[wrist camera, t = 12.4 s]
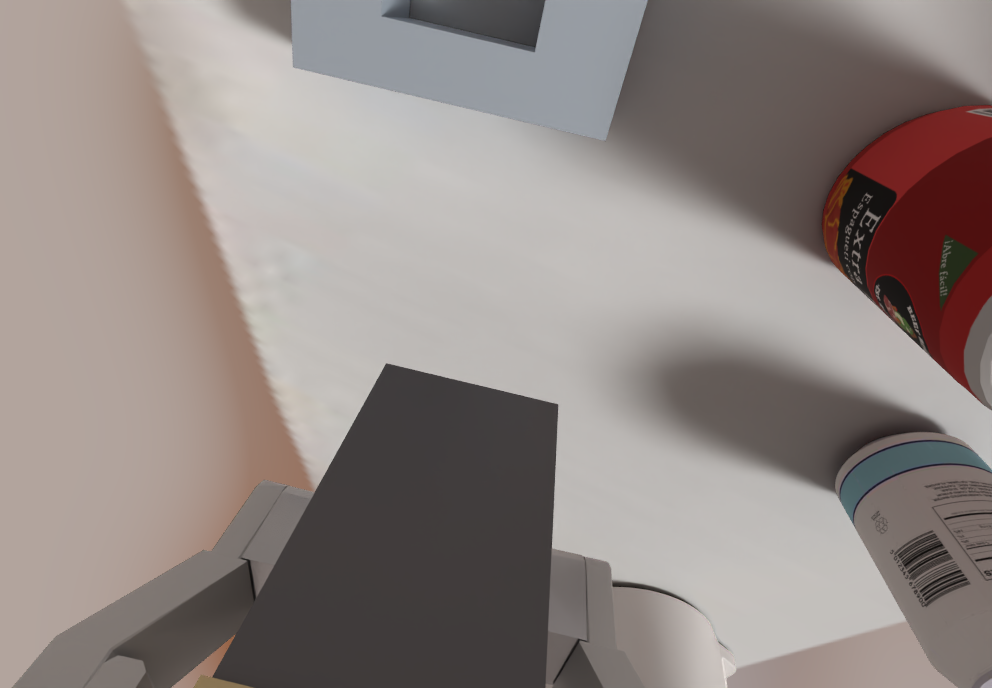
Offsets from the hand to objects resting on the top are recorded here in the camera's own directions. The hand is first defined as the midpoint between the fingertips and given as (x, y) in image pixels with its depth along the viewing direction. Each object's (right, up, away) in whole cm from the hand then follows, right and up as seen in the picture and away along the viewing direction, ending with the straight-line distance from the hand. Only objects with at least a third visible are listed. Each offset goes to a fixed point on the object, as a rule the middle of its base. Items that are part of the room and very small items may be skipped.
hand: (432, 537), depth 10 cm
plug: (0, +1, +2) cm, 3 cm away
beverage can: (+25, -3, +19) cm, 31 cm away
